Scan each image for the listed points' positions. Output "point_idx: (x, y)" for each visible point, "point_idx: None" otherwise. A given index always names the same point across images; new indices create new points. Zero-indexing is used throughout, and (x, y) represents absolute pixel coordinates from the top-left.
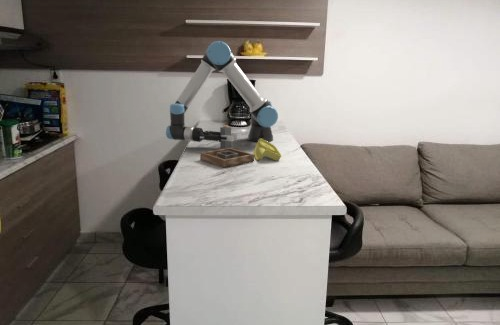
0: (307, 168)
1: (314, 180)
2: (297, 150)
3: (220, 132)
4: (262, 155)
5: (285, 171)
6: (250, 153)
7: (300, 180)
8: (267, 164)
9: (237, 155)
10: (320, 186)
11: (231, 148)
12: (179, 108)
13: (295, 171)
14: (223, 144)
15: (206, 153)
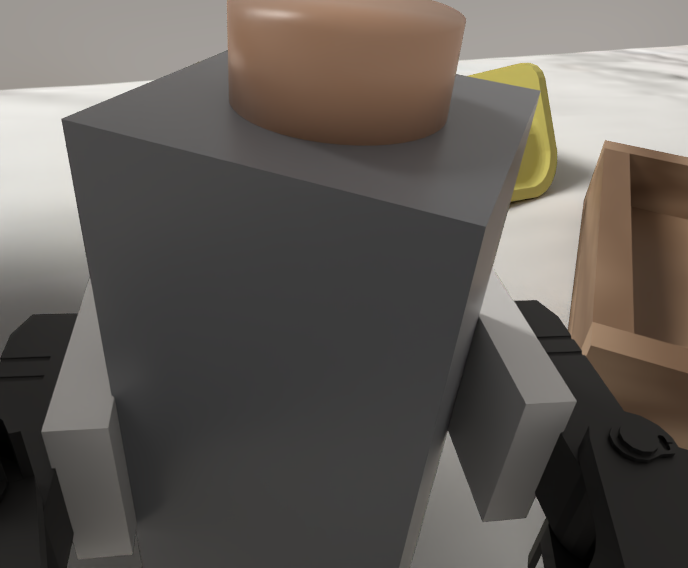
0: (476, 67)
1: (617, 59)
2: (42, 90)
3: (431, 447)
4: (547, 123)
5: (607, 101)
6: (606, 157)
7: (665, 75)
8: (568, 150)
9: None
10: (660, 53)
11: (603, 312)
12: None
13: (567, 85)
14: (410, 560)
15: None
